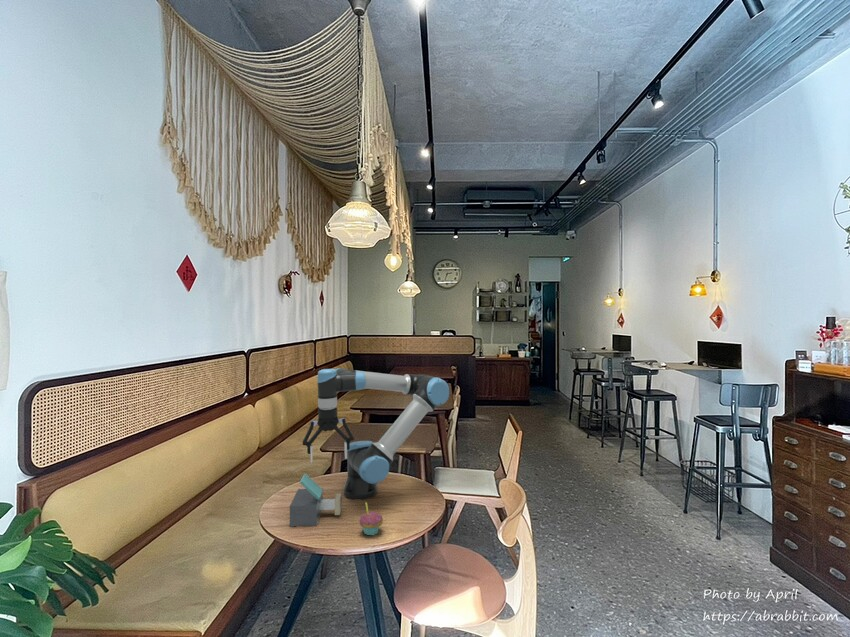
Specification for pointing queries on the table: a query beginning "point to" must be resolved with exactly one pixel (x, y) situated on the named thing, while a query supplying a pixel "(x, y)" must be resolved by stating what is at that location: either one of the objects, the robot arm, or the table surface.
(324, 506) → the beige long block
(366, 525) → the cupcake
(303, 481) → the teal rectangular plate
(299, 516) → the grey block
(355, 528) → the table surface
